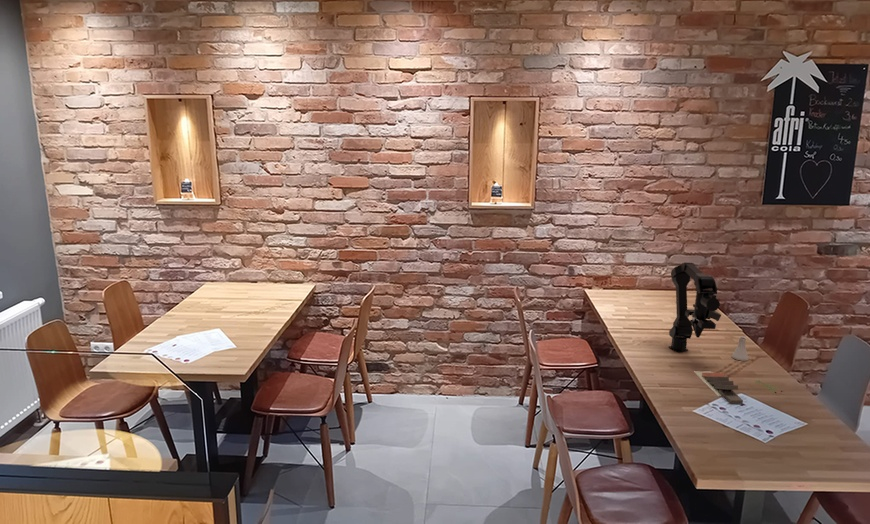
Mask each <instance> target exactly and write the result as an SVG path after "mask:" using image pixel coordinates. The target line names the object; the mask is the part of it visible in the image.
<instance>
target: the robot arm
mask: <svg viewBox="0 0 870 524" xmlns="http://www.w3.org/2000/svg"><path fill="white" fill-rule="evenodd" d="M670 277H671V282H672V283H673V285H674V286H675V297H676V298H675V299H676V300H675V303H676V305H675V306H676V318H675V320H674V321H673V323H672V324H673V325H672V327H671V329H670V330H669V331H668V333H669V334H668V335H669V337H670V338H671V344H670V345H671V346H668V348H669V349H670V350H672V351H675V352H676V353H681V352H688V351H689V349H688V348H687V345H688V344H687V343H688V340H689V339H690V340H691V338H692V335H693V332H694V335H695V337H696V338H700V336H701V335H702V333H703V331H704V330H716V326H717V324H716V323H715V322H714V321H713V320H715V321H717V322H719V321H720V320H721V317H722V314H721V313H720V312H718V311H717V310H719V308H720V306H721V303H720V301H719V299H718V298H717V295H718V287H717V284H716V280H715V278H714V277H713V275H710V274H707V273H706V274H705V273H704V272H702V271H701V270H700V269H699V268H698V267H697V266H696V265H695V263H694V262H682V263H681V264H679V265H677V266H675V267H673V269H671V271H670ZM691 279H692V280H693V281H694V282H693V283H694V286H695V290H694V291H695V293H696V294H695V302H694V303H693V304H692V307H693V308H694V309H693V308H692V309H690V308H688V287H687V286H688V285H689V283H690V281H691ZM690 316H691V319H689V317H690ZM711 319H712V320H711Z"/></svg>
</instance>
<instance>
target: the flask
mask: <svg viewBox="0 0 870 524" xmlns="http://www.w3.org/2000/svg"><path fill="white" fill-rule="evenodd" d="M738 339H739V341H738V344H737V346H736V348H735V350H734V351H733V353H732V355H731V358H732V359H734V360H735V361H736V360H737V361H743V362H744V361H746V362H747V361H748V360H749V355H748V352H747V348H746V341H747V337H745V336H739V337H738Z"/></svg>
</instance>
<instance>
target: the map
mask: <svg viewBox="0 0 870 524" xmlns="http://www.w3.org/2000/svg"><path fill="white" fill-rule="evenodd" d="M755 384H757V385H760V384H761V385H762V386H764V388H766V389H767V390H768V391H769V392H771V393H772V392H773V391H776V390H779V389H780V388H778V387H776V386H774V385H771V384H770V383H764V382H762V381H760V380H755ZM776 388H777V389H776Z"/></svg>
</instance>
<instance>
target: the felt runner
mask: <svg viewBox="0 0 870 524" xmlns="http://www.w3.org/2000/svg"><path fill="white" fill-rule="evenodd" d="M693 373H694V374H695V375H696V376H697V377H698V378H699V379H701V381H702V382H703V383H705V385H707V387H708V388H709V389H711V390H712V392H713V393H714V394H715V395H716V396H718V397H722V396H721V395H720V394H719V393H718V392H719V389H714V385H711V384H710V381H709V380H706V377H705V376H702V373H714V372H713V371H710V370H709V371H708V370H707V371H704V370H703V371H698V370H697V371H695V370H694V371H693Z"/></svg>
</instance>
